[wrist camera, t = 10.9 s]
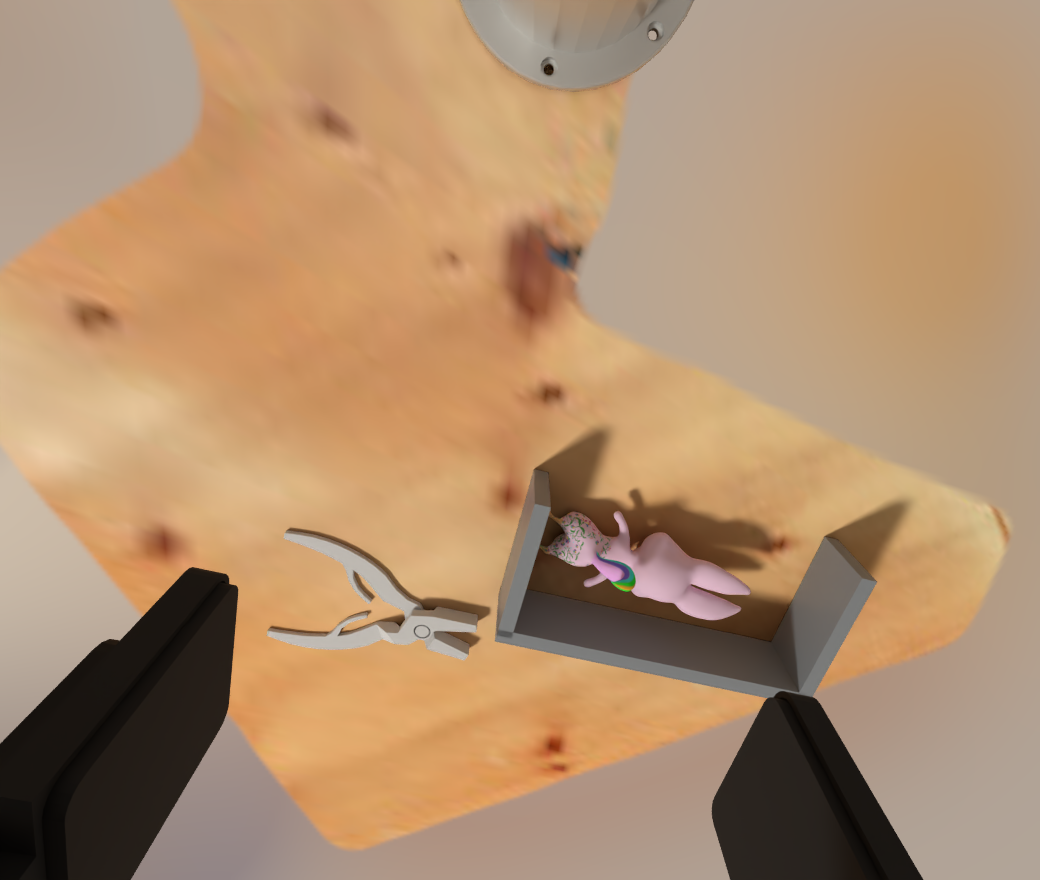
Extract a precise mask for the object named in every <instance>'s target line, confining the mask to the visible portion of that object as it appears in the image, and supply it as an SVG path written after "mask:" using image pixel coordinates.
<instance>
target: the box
mask: <svg viewBox="0 0 1040 880" xmlns="http://www.w3.org/2000/svg"><path fill="white" fill-rule="evenodd" d="M550 509H551V501H550V487H549V473H548V472H545V471H540V470H536V469H534V471H533V475H532V478H531V482H530V485H529V489H528V492H527V496H526V500H525V503H524V507H523V510H522V514H521V517H520V521H519V524H518V528H517V531H516V535H515V539H514V542H513V546H512V549H511V553H510V556H509V560H508V563H507V567H506V570H505V574H504V578H503V581H502V585H501V588H500V592H499V596H498V609H497V622H496V634H495V641H496V642H500V643H505V644H510V645H515V646H520V647H524V648H529V649H534V650H539V651H544V652H548V653H553V654H558V655H563V656H568V657H572V658H577V659H582V660H587V661H592V662H596V663H601V664H606V665H611V666H616V667H620V668H625V669H630V670H635V671H640V672H644V673H649V674H654V675H659V676H663V677H668V678H673V679H678V680H683V681H687V682H692V683H697V684H702V685H707V686H711V687H716V688H721V689H726V690H731V691H735V692H740V693H745V694H750V695H755V696H759V697H764V698H769V697H774V696H775V694H776V693H778V692H779V691H786V692H791V693H796V694H800V695H805V696H810V697H813V695H814V693H815V691H816V689H817V688H818V686H819V684H820V682H821V681H822V679H823V677H824V675H825V673H826V672H827V670H828V668H829V666H830V665H831V663H832V661H833V659H834V658H835V656H836V654H837V652H838V650H839V649H840V647H841V645H842V643H843V642H844V640H845V638H846V636H847V634H848V633H849V631H850V629H851V627H852V626H853V624H854V622H855V620H856V618H857V617H858V615H859V613H860V611H861V610H862V608H863V606H864V604H865V602H866V601H867V599H868V597H869V595H870V594H871V592H872V590H873V588H874V587H875V585H876V583H877V581H876V580H875V579H874V578H873V577H872V576H871V575H870V574H869V573H868V571H867V570H866V569H865V568H864V567H863V566H862V565H861V564H860V563H859V562H858V561H857V560H856V559H855V557H854V556H853V555H852V554H851V553H850V552H849V551H848V550H847V549H846V548H845V547H844V546H843V545H842V543H841V542H840V541H839V540H837V539H833V538H829V537H824V539H823V541H822V543H821V545H820V547H819V549H818V551H817V553H816V555H815V557H814V559H813V561H812V563H811V565H810V566H809V568H808V570H807V572H806V574H805V576H804V578H803V580H802V582H801V584H800V586H799V588H798V590H797V592H796V594H795V596H794V598H793V600H792V602H791V604H790V606H789V608H788V610H787V612H786V614H785V616H784V618H783V620H782V622H781V624H780V626H779V628H778V630H777V632H776V634H775V636H774V638H773V639H772V641H771V642H768V641H764V640H759V639H755V638H750V637H745V636H741V635H736V634H731V633H727V632H722V631H718V630H713V629H708V628H704V627H699V626H694V625H690V624H685V623H681V622H676V621H671V620H667V619H662V618H657V617H653V616H648V615H644V614H639V613H634V612H630V611H625V610H620V609H616V608H611V607H607V606H602V605H597V604H593V603H588V602H583V601H579V600H574V599H570V598H565V597H560V596H556V595H551V594H546V593H542V592H537V591H533V590H528V589H527V585H528V582H529V579H530V576H531V572H532V569H533V566H534V562H535V559H536V556H537V552H538V549H539V546H540V542H541V539H542V536H543V532H544V529H545V526H546V523H547V519H548V516H549V513H550Z"/></svg>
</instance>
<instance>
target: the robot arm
mask: <svg viewBox="0 0 1040 880" xmlns="http://www.w3.org/2000/svg"><path fill="white" fill-rule="evenodd" d="M693 1H694V0H460V2H461V5H462V8H463V10H464V12H465V14H466V16H467V18H468V20H469V22H470V24H471V26H472V28H473V30H474V32H475V33H476V35H477V36H478V37H479V39H480V40H481V41H482V43H483V44H484V45H485V47H486V48H487V49H488V51H489V52H490V53H491V54H492V55H493V56H494V57H495V58H496V59H497V60H498V61H499V62H500V63H502V64H503V65H504V66H505V67H506V68H507V69H508V70H510V71H511V72H513V73H515V74H516V75H518V76H520V77H521V78H523V79H525V80H526V81H528V82H530V83H533V84H536V85H539V86H542V87H545V88H548V89H552V90H561V91H570V92H576V91H585V90H595V89H598V88H601V87H604V86H607V85H610V84H613V83H616V82H619V81H620V80H622V79H624V78H626V77H627V76H629V75H631V74H633V73H634V72H636V71H638V70H639V69H640V68H642V67H643V66H644V65H645V64H646V63H647V62H649V61H650V60H651V59H652V58H653V57H654V56H656V55H657V54H658V53H659V52H660V51H661V49H662V48H663V47H664V46H665V45H666V43H668V42H669V40H670V39H671V38H672V36H673V35H674V33H675V32H676V31H677V29H678V27H679V26H680V25H681V23H682V22H683V20H684V19H685V17H686V16H687V13H688V11H689V9H690V7H691V5H692V3H693ZM649 31H655V32H656V34H657V39H656V40H650V39H649V37H648V32H649ZM547 65H550V66H552V67H553V69H554V72H553V74H551V75H546V74H545V73H544V68H545V67H546V66H547ZM237 600H238V587H237V586H236V585H231V584H229V577H228V575H226V574H223V573H218V572H213V571H209V570H204V569H199V568H194V567H192V568H189V569H188V570H187V571H185V572H184V573H183V574H182V576H181V577H180V578H179V579H178V580H177V581H176V582H175V583H174V584H173V585H172V586H171V587H170V588H169V589H168V590H167V591H166V592H165V594H164V595H163V596H162V597H161V598H160V599H159V600H158V601H157V602H156V603H155V604H154V605H153V606H152V607H151V608H150V609H149V611H148V612H147V613H146V614H145V615H144V616H143V617H142V618H141V619H140V620H139V621H138V622H137V623H136V624H135V625H134V627H132V629H131V630H130V631H129V632H128V633H127V634H126V635H125V636H124V637H123V638H122V639H121V640H120V641H119V640H113V639H109V640H107V641H104V642H102V643H101V644H99V645H98V646H97V647H96V648H94V649H93V650H92V651H91V652H90V653H89V654H88V655H87V656H86V658H84V659H83V660H82V661H81V662H80V664H78V665H77V667H75V668H74V670H73V671H72V672H71V673H70V674H69V675H68V676H67V677H66V678H65V679H64V680H63V681H62V682H61V683H60V684H59V685H58V686H57V687H56V688H55V689H54V690H53V691H52V692H51V693H50V694H49V695H48V696H47V697H46V698H45V699H44V700H43V701H42V702H41V703H40V704H39V705H38V706H37V707H36V708H35V709H34V710H33V711H32V712H31V713H30V714H29V715H28V716H27V717H26V718H25V719H24V720H23V721H22V722H21V723H20V724H19V725H18V727H16V728H15V729H14V730H13V731H12V732H11V733H10V734H9V735H8V736H7V737H6V739H5V740H4V741H3V742H2V743H1V744H0V880H131V878H132V876H133V875H134V873H135V871H136V870H137V868H138V866H139V864H140V863H141V861H142V859H143V858H144V856H145V854H146V853H147V851H148V849H149V848H150V846H151V844H152V843H153V841H154V839H155V838H156V836H157V834H158V833H159V831H160V829H161V827H162V826H163V824H164V822H165V821H166V819H167V817H168V816H169V814H170V812H171V811H172V809H173V807H174V806H175V804H176V802H177V801H178V798H179V797H180V795H181V794H182V792H183V790H184V789H185V787H186V785H187V783H188V782H189V780H190V779H191V777H192V775H193V774H194V772H195V770H196V768H197V767H198V765H199V763H200V762H201V760H202V758H203V757H204V755H205V753H206V751H207V750H208V748H209V747H210V745H211V743H212V741H213V740H214V738H215V736H216V735H217V733H218V731H219V730H220V728H221V726H222V724H223V722H224V719H225V716H226V714H227V710H228V706H229V696H230V684H231V672H232V660H233V648H234V636H235V624H236V612H237ZM712 819H713V823H714V827H715V830H716V833H717V836H718V840H719V843H720V847H721V850H722V853H723V857H724V860H725V863H726V867H727V870H728V873H729V877H730V880H923V878H922V877H921V875H920V873H919V872H918V870H917V868H916V867H915V865H914V863H913V861H912V860H911V858H910V856H909V855H908V853H907V851H906V849H905V848H904V846H903V844H902V843H901V841H900V839H899V838H898V836H897V834H896V832H895V831H894V829H893V827H892V826H891V824H890V822H889V821H888V819H887V817H886V815H885V814H884V812H883V810H882V809H881V807H880V805H879V803H878V802H877V800H876V798H875V797H874V795H873V793H872V791H871V790H870V788H869V786H868V785H867V783H866V781H865V779H864V778H863V776H862V774H861V773H860V771H859V769H858V768H857V766H856V764H855V762H854V761H853V759H852V757H851V756H850V754H849V752H848V751H847V749H846V747H845V745H844V744H843V742H842V741H841V739H840V737H839V735H838V733H837V732H836V730H835V728H834V727H833V725H832V723H831V721H830V720H829V718H828V717H827V715H826V713H825V711H824V710H823V708H822V706H821V705H820V703H819V702H818V701H817V699H815V698H813V697H810V696H805V695H800V694H796V693H791V692H786V691H779V692H778V693H776V694H775V696H774V697H769V698H768V699H766V701H765V702H764V704H763V706H762V708H761V709H760V711H759V713H758V715H757V717H756V719H755V721H754V723H753V725H752V727H751V728H750V730H749V732H748V734H747V736H746V738H745V740H744V742H743V744H742V746H741V748H740V750H739V751H738V753H737V755H736V757H735V759H734V761H733V763H732V765H731V767H730V768H729V770H728V772H727V774H726V776H725V778H724V780H723V782H722V784H721V786H720V787H719V789H718V791H717V793H716V795H715V797H714V800H713V804H712Z"/></svg>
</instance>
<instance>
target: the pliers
mask: <svg viewBox="0 0 1040 880" xmlns="http://www.w3.org/2000/svg"><path fill="white" fill-rule="evenodd" d="M284 539H286V540H289V541H292V542H295V543H298V544H301V545H303V546H306V547H308V548H311V549H313V550H316V551H318V552H321V553H323V554H325V555H327V556H329V557H331V558H333V559H335V560H337V561H339V562H341V563H342V564H343V566H344V568H345V569H346V573H347V576H348V580H349V582H350V584H351V585H352V587H353V589H354V590H355V592H356V593H357V594H358V595H359V596H360V597H361V598H362V599H363V600H365V601H366V602H367V603H368V604H369V603H371V601H372V598H371V597H369V596H368V595H367V594H366V593H365V592H364V591H363V590H362V589H361V587H360V586H359V585H358V583H357V581H356V578H355V574H354V571H355V572H357V573H358V574H359V575H361V576H362V577H363V578H364V579H365V580H366V581H367V582H368V584H369V585H370V586H371V587H372V588H373V589H374V591H375V592H376V593H377V594H378V595H379V597H380V598H381V599H382V600H383V601H385V602H387V603H389V604H391V605H393V606H395V607H397V608H399V609H401V610H403V611H404V613H405V621H404V622H403V623H402V625H401V626H399V625H398V624H396V623H395V622H384V621H377V622H375V623H372V624H370V625H367V626H364V627H362V628H359V629H356V630H353V631H350V632H343V633H339V632H340V631H341V629H342V628H343V627H344V626H346V625H347V624H349V623H351V622H353V621H356V620H359V619H364V618H367V616H368V612H364V613H360V614H356V615H353V616H350V617H348V618H346V619H344V620H343V621H341V622H340V623H339V624H338V625H337V626H336V627H335V628H334V629H333V630H332V631H330V632H329V633H327V634H326V633H303V632H294V631H287V630H280V629H274V628H269V629H268V631H267V636H269V637H272V638H274V639H277V640H280V641H283V642H286V643H289V644H293V645H297V646H302V647H307V648H314V649H328V650H339V649H353V648H359V647H363V646H368V645H370V644H372V643H375V642H377V641H379V640H382V639H384V640H386V641H389V642H391V643H394V644H404V645H409V644H411V643H413V642H414V641H416V640H418V639H419V640H424V641H425V644H426V648H427V649H428V650H431V651H435V652H438V653H441V654H445V655H448V656H451V657H455V658H458V659H462V660H465V659H466V657H467V656H468V654H469V647H470V644H468V643H466V642H464V641H462V640H460V639H458V638H456V637H454V636H452V635H450V634H448V633H446V632H444V631H452V632H476V630H477V622H478V615H476V614H472V613H467V612H462V611H457V610H452V609H447V608H443V607H438V606H437V607H436V609H435V610H424V608H423V606H422V605H421V603H420V602H418V601H416V600H413V599H411V598H409V597H408V596H407V595H405V594H404V593H403V592H402V591H401V590H400V589H399V588H398V587H397V586H396V585H395V584H394V582H393V581H392V580H391V578H390V577H389V576H388V574H387V573H386V572H385V571H384V570H383V569H382V568H380V567H379V566H378V565H377V564H376V563H374V562H373V561H372V560H370V559H369V558H367V557H366V556H364V555H362V554H361V553H359V552H357V551H355V550H354V549H352V548H350V547H348V546H346V545H344V544H342V543H339V542H336V541H334V540H331V539H328V538H325V537H321V536H318V535H315V534H309V533H303V532H297V531H288V530H287V531H286V532H285V535H284Z"/></svg>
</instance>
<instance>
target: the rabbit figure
mask: <svg viewBox="0 0 1040 880" xmlns="http://www.w3.org/2000/svg"><path fill="white" fill-rule="evenodd" d="M548 517H550V518H551V519H553V520H555V521H556V522H557V523H558V524H559V525H560V526H561V527H562V529H563V530H564V531H565V533H564V534H561V535H559V536H557V537H556V538H555V540H554V541H553V543H552V544H551V545H550V546H547V547H545V546H542V545H541V544H540V546H539V548H540V549H541V550H542V551H543V552H544V553H545V554H551V555H553V556H556V557H558V558H560V559H562V560H564V561H565V562H567V563H569V564H571V565H573V566H579V567H584V566H589V565H591V564H593V565H594V566H595V567H596V568H597V569H598V570H599V571H600V573H599V574H598V575H597V576H595V577H593V578H589V579H586V580H585V581H584V586H585V587H591V586H593V585H596V584H598V583H600V582H602V581H604V580H606V579H607V578H608V579H609V580H610V581H612V582H611V583H612V584H613V585H614V586H615V587H617V588H618V589H620V590H622V591H625V592H628V591H631V590H632V592H633V593H634V594H635V595H636V596H638V597H647V598H651V599H654V600H657V601H660V602H667V603H674V604H675V605H676V606H677V607H678V608H679V609H680V610H681V611H682V612H684V613H686V614H688V615H690V616H693V617H696V618H701V619H706V620H718V619H723V618H726V617H729V616H732V615H734V614H736V613H738V612H739V611H740V610H741V607H740V606H738V605H735V604H733V603H731V602H729V601H727V600H725V599H722V598H720V597H717V596H715V595H713V594H711V593H708V592H706V591H703V590H700V589H698V588H695V587H693V586H692V585H691V584H694V585H696V586H699V587H701V588H704V589H707V590H712V591H715V592H718V593H722V594H728V595H749V594H750V593H751V591H750V589H749V588H748V586H747V585H745V584H744V583H743V582H742V581H741V580H739V579H738V578H736V577H735V576H734V575H732V574H730V573H729V572H727V571H725V570H724V569H722V568H720V567H719V566H717V565H715V564H713V563H711V562H708V561H705V560H700V559H694V558H692V557H690V556H688V555H687V554H686V553H685V552H684V551H683V550H682V549H681V548H680V547H679V546H678V545H677V544H676V543H675V542H674V541H673V540H672V539H671V538H670V536H669V535H668V534H666V533H663V532H659V533H654V534H651V535H649V536H648V537H647V538H646V539H645V540H644V541H643V543H642V545H641V546H640V547H638V548H636V549H634V550H633V551H632V550H631V549H630V536H629V530H628V526H627V523H626V521H625V519H624V517H623V515H622V513H621V512H620V511H616V512H615V513H614V518H615V520H616V521H617V522H618V524H619V528H620V532H619V535H618V536H617V537H608V536H605V535H603V534H602V533H601V532H600V531H599V530H598V529H597V527H596V526H595V524H594V523H593V522H592V521H591V520H590V519H589V518H588V517H587V516H585V515H583V514H582V513H579V512H570V513H568V514H567V515H565V516H564V517H562V518H556V517H554V516H553V515H552V514H551V511H550V513H549V516H548Z"/></svg>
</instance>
